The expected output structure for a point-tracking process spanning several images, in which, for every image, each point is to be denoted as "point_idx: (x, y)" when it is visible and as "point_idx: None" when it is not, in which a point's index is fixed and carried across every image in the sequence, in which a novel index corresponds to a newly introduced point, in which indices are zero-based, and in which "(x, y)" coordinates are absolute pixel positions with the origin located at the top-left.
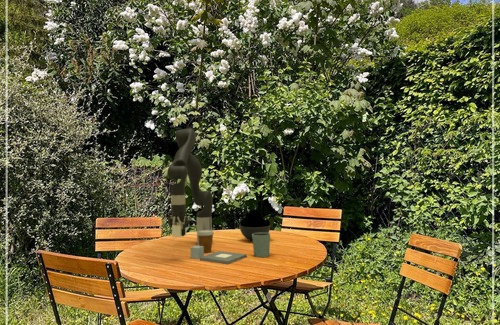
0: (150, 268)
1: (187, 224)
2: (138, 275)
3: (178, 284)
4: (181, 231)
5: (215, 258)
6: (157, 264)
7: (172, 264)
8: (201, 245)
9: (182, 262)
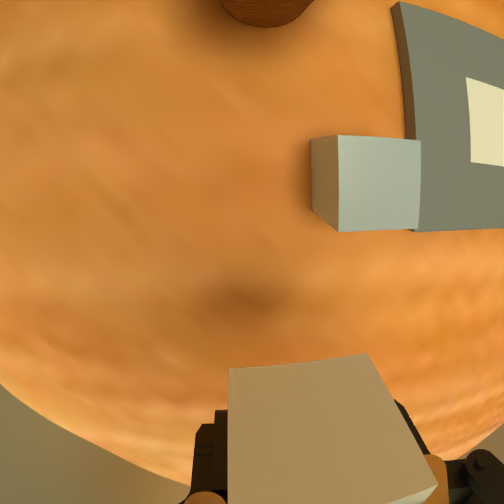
0: None
1: (492, 486)
2: None
3: (452, 458)
4: None
5: (493, 207)
6: None
7: None
8: (272, 8)
9: (340, 327)
